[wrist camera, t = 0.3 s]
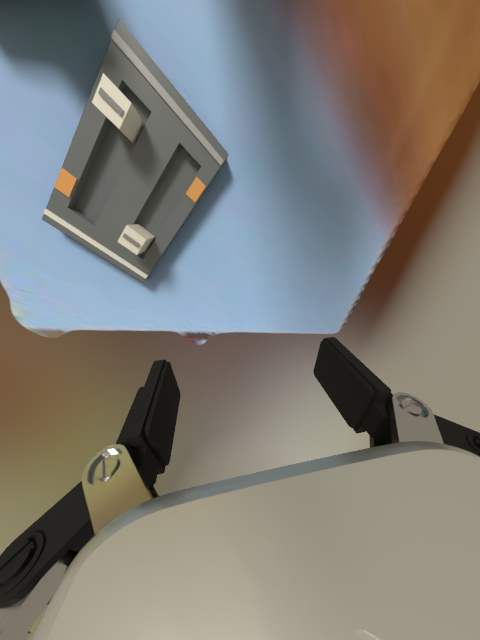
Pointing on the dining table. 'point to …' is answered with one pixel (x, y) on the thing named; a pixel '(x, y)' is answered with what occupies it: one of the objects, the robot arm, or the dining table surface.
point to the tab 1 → (118, 109)
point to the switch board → (134, 164)
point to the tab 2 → (136, 238)
